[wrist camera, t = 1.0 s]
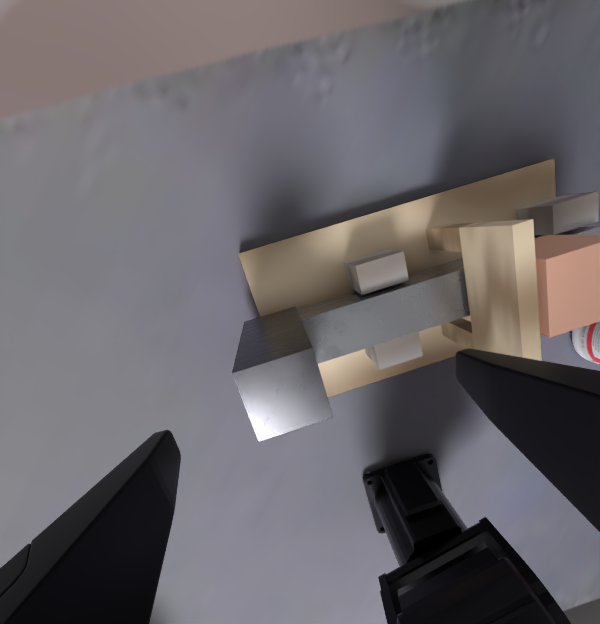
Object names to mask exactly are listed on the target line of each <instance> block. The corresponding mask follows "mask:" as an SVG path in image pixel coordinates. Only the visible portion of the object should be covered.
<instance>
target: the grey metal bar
mask: <svg viewBox="0 0 600 624" xmlns="http://www.w3.org/2000/svg"><path fill="white" fill-rule="evenodd" d="M556 235H600V226H599V227H578V228H575V229H572V230H569V231H565V232H562V233H559V234H556ZM541 236H544V235H535V236H534V239H535V238H538V237H541ZM408 277H409V280H408V281H405V282H402V283H399V284H395V285H392V286H389V287H386V288H383V289H379V290H376V291H373V292H370V293H367V294H363V295H361V294H360V293H358V292H357V291H355V292H351V293H348V294H345V295H342V296H339V297H335V298H332V299H329V300H326V301H322V302H319V303H316V304H313V305H310V306H306V307H303V308H300V309H296V307H295V306H294V307H291V308H288V309H284V310H281V311H278V312H275V313H272V314H268V315H265V316H262V317H259V318H256V319H252V320H249V321H246V322H244V326H243V330H242V334H241V338H240V342H239V346H238V350H237V355H236V359H235V363H234V367H233V371H232V375H233V377H234V380H235V383H236V385H237V388H238V390H239V393H240V395H241V398H242V400H243V403H244V405H245V408H246V410H247V413H248V416H249V418H250V421H251V423H252V426H253V428H254V431H255V433H256V436H257V438H258V441H262V440H265V439H268V438H271V437H274V436H277V435H280V434H283V433H286V432H290V431H293V430H296V429H299V428H302V427H305V426H308V425H311V424H314V423H317V422H320V421H323V420H326V419H329V418H332V417H333V414H332V410H331V407H330V403H329V400H328V397H327V393H326V390H325V387H324V383H323V380H322V377H321V373H320V370H319V367H318V364H319V363H322V362H325V361H328V360H331V359H335V358H338V357H341V356H344V355H347V354H350V353H353V352H356V351H360V350H363V349H366V348H369V347H372V346H375V345H378V344H382V343H385V342H388V341H391V340H394V339H397V338H400V337H404V336H407V335H410V334H413V333H416V332H419V331H422V330H425V329H429V328H432V327H435V326H438V325H441V324H444V323H447V322H451V321H454V320H457V319H460V318H463V317H466V316H469V315H470V310H469V303H468V295H467V287H466V279H465V272H464V264H463V258H461V259H457V260H454V261H451V262H448V263H445V264H441V265H438V266H435V267H432V268H428V269H425V270H422V271H419V272H416V273H412V274H409V275H408Z"/></svg>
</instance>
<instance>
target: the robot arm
mask: <svg viewBox="0 0 600 624" xmlns="http://www.w3.org/2000/svg"><path fill="white" fill-rule="evenodd" d="M455 366H456V377H457V379H458V381H459V383H460V384H461V385H462V386H463V388H464V389H465V390H466V391H467V393H468V394H469V395H470V396H471V397H472V399H473V400H474V401H475V402H476V404H477V405H478V406H479V407H480V409H481V410H482V411H483V412H484V414H485V415H486V416H487V417H488V418H489V419H490V421H491V422H492V423H493V424H494V425H495V426H496V427H497V428H498V429H499V430H500V431H501V432H502V433H503V434H504V435H505V436H506V437H507V438H508V439H509V440H510V441H511V442H512V443H513V444H514V445H515V446H516V447H517V448H518V449H519V450H520V451H521V452H522V453H523V454H524V455H525V456H526V457H527V459H528V460H529V461H530V462H531V463H532V464H533V465H534V466H535V467H536V468H537V469H538V470H539V471H540V472H541V473H542V474H543V475H544V476H545V477H546V478H547V479H548V480H549V481H550V482H551V483H552V484H553V485H554V486H555V487H556V488H557V489H558V490H559V491H560V492H561V493H562V494H563V495H564V496H565V497H566V498H567V499H568V500H569V501H570V502H571V503H572V504H573V505H574V506H575V507H576V508H577V509H578V510H579V511H580V512H581V513H582V514H583V515H584V516H585V517H586V519H587V520H588V521H589V522H590V523H591V524H592V525H593V526H594V527H595V528H596V529H597V530H598V531H599V532H600V371H597V370H591V369H586V368H580V367H574V366H568V365H563V364H557V363H551V362H545V361H540V360H534V359H528V358H523V357H517V356H511V355H505V354H500V353H494V352H488V351H482V350H477V349H471V348H468V349H464V350H460V351H457V352H456V354H455ZM429 460H430V461H429ZM180 461H181V455H180V451H179V448H178V446H177V444H176V441H175V439H174V437H173V434H172V433H171V431H169V430H164V431H161V432H157V433H154V434H153V435H152V436H151V437H150V438H148V439H147V440H146V441H145V442H144V443H143V444H142V445H140V446H139V447H138V448H137V449H136V450H135V451H134V452H132V453H131V454H130V455H129V456H128V457H127V458H126V459H124V460H123V461H122V462H121V463H120V464H119V465H118V466H116V467H115V468H114V469H113V470H112V471H111V472H110V473H109V474H107V475H106V476H105V477H104V478H103V479H102V480H101V481H99V482H98V483H97V484H96V485H95V486H94V487H93V488H91V489H90V490H89V491H88V492H87V493H86V494H85V495H83V496H82V497H81V498H80V499H79V500H78V501H77V502H76V503H74V504H73V505H72V506H71V507H70V508H69V509H68V510H66V511H65V512H64V513H63V514H62V515H61V516H60V517H58V518H57V519H56V520H55V521H54V522H53V523H52V524H50V525H49V526H48V527H47V528H46V529H45V530H44V531H42V532H41V533H40V534H39V535H38V536H37V537H36V538H35V539H33V540H32V542H31V544H28V545H26V546H25V547H24V548H23V549H22V550H21V551H20V552H18V553H17V554H16V555H15V556H14V557H13V558H12V559H11V560H9V561H8V562H7V563H6V564H5V565H4V566H2V567H1V568H0V624H149V622H150V617H151V613H152V609H153V604H154V600H155V595H156V591H157V586H158V582H159V578H160V573H161V569H162V564H163V560H164V556H165V551H166V547H167V542H168V538H169V534H170V529H171V525H172V520H173V515H174V510H175V503H176V494H177V486H178V478H179V469H180ZM369 480H370V481H369ZM363 483H364V486H365V490H366V493H367V497H368V500H369V504H370V507H371V511H372V514H373V518H374V521H375V525H376V528H377V531H378V532H379V533H385V532H386V534H387V536H388V539H389V541H390V544H391V546H392V549H393V551H394V554H395V556H396V559H397V561H398V563H399V566H400V567H399V568H397V569H395V570H393V571H391V572H390V573H388V574H385V573H384V574H383V575H381V576H379V582H380V586H381V591H380V593H381V597H382V602H383V606H384V610H385V615H386V619H387V623H388V624H571V623H570V621H569V620H568V618H567V617H566V615H565V614H564V612H563V611H562V610H561V608H560V607H559V605H558V604H557V603H556V601H555V600H554V598H553V597H552V596H551V594H550V593H549V592H548V590H547V589H546V588H545V586H544V585H543V584H542V582H541V581H540V580H539V578H538V577H537V576H536V575H535V573H534V572H533V571H532V570H531V569H530V567H529V566H528V565H527V564H526V563H525V561H524V560H523V559H522V558H521V557H520V556H519V555H518V553H517V552H516V551H515V550H514V549H513V548H512V547H511V545H510V544H509V543H508V542H507V541H506V540H505V539H504V537H503V536H502V535H501V534H500V533H499V532H498V531H497V529H496V528H495V527H494V526H493V525H492V524H491V522H490V521H489V520H488V519H487V518H486V517H484V518H483V519H481V520H479V523H477V524H475V525H474V526H472V527H470V528H467V527H466V526H465V524H464V523H463V521H462V520H461V518H460V517H459V515H458V514H457V513H456V511H455V510H454V508H453V507H452V505H451V504H450V502H449V501H448V499H447V498H446V497H445V495H444V494H443V492H442V489H441V484H440V479H439V474H438V468H437V463H436V459H435V458H434V457H433V455H431V454H426V455H423V456H420V457H417V458H414V459H411V460H408V461H406V462H403V463H400V464H397V465H394V466H391V467H388V468H385V469H382V470H379V471H376V472H373V473H370V474H367V475H365V476H364V477H363Z"/></svg>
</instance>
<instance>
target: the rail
mask: <svg viewBox="0 0 600 624" xmlns="http://www.w3.org/2000/svg"><path fill="white" fill-rule="evenodd" d="M597 221H598V191H596V192H589V193H581V194H574V195H566V196H559V197H556V187H555V161H554V159H551V160H547V161H543V162H540V163H537V164H533V165H530V166H527V167H523V168H520V169H517V170H513V171H510V172H507V173H503V174H500V175H497V176H493V177H490V178H487V179H484V180H480V181H477V182H474V183H470V184H467V185H464V186H460V187H457V188H454V189H450V190H447V191H444V192H440V193H437V194H434V195H431V196H427V197H424V198H421V199H417V200H414V201H411V202H407V203H404V204H401V205H397V206H394V207H391V208H387V209H384V210H381V211H378V212H374V213H371V214H368V215H364V216H361V217H358V218H354V219H351V220H348V221H344V222H341V223H338V224H334V225H331V226H328V227H325V228H321V229H318V230H315V231H311V232H308V233H305V234H301V235H298V236H295V237H291V238H288V239H285V240H281V241H278V242H275V243H271V244H268V245H265V246H262V247H258V248H255V249H252V250H248V251H245V252H242V253H239V257H240V260H241V263H242V266H243V269H244V272H245V275H246V278H247V281H248V284H249V286H250V289H251V292H252V295H253V298H254V301H255V304H256V307H257V310H258V313H259V316H260V317H262V316H265V315H268V314H272V313H275V312H278V311H281V310H284V309H288V308H291V307H294V306H295V307H296V309H300V308H303V307H306V306H310V305H313V304H316V303H319V302H322V301H326V300H329V299H332V298H335V297H339V296H342V295H345V294H348V293H351V292H355V291H357V292H358V293H360V294H361V295H363V294H367V293H370V292H373V291H376V290H379V289H383V288H386V287H389V286H392V285H395V284H399V283H402V282H405V281H408V280H409V277H408V275H409V274H412V273H416V272H419V271H422V270H425V269H428V268H432V267H435V266H438V265H441V264H445V263H448V262H451V261H454V260H457V259H461V258H463V264H464V272H465V279H466V287H467V295H468V303H469V310H470V315H469V316H466V317H463V318H460V319H457V320H454V321H451V322H447V323H444V324H441V325H438V326H435V327H432V328H429V329H425V330H422V331H419V332H416V333H413V334H410V335H407V336H404V337H400V338H397V339H394V340H391V341H388V342H385V343H382V344H378V345H375V346H372V347H369V348H366V349H363V350H360V351H356V352H353V353H350V354H347V355H344V356H341V357H338V358H335V359H331V360H328V361H325V362H322V363H319V364H318V367H319V370H320V373H321V377H322V380H323V383H324V387H325V390H326V393H327V397H330V396H334V395H337V394H340V393H343V392H346V391H349V390H352V389H355V388H358V387H361V386H364V385H368V384H371V383H374V382H377V381H380V380H383V379H386V378H389V377H392V376H395V375H398V374H402V373H405V372H408V371H411V370H414V369H417V368H420V367H423V366H426V365H429V364H432V363H436V362H439V361H442V360H445V359H448V358H451V357H454V356H455V354H456V352H457V351H460V350H464V349H468V348H471V349H477V350H482V351H488V352H494V353H500V354H505V355H511V356H517V357H523V358H528V359H534V360H540V361H542V358H541V341H540V324H539V307H538V290H537V274H536V257H535V240H534V236H535V235H556V234H559V233H562V232H565V231H569V230H572V229H575V228H578V227H581V226H585V225H588V224H591V223H594V222H597Z"/></svg>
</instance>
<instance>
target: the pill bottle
mask: <svg viewBox="0 0 600 624" xmlns="http://www.w3.org/2000/svg"><path fill="white" fill-rule="evenodd" d="M572 342H573V345H574V348H575V350H576V351H577V352H578V354H579V355H581V356H582V357H583V358H585V359H587V360H589V361H592V362H594V363H596V364H599V365H600V321H599V322H596V323H593V324H590V325H587V326H584V327H581V328H578V329H575V330H572Z"/></svg>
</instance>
